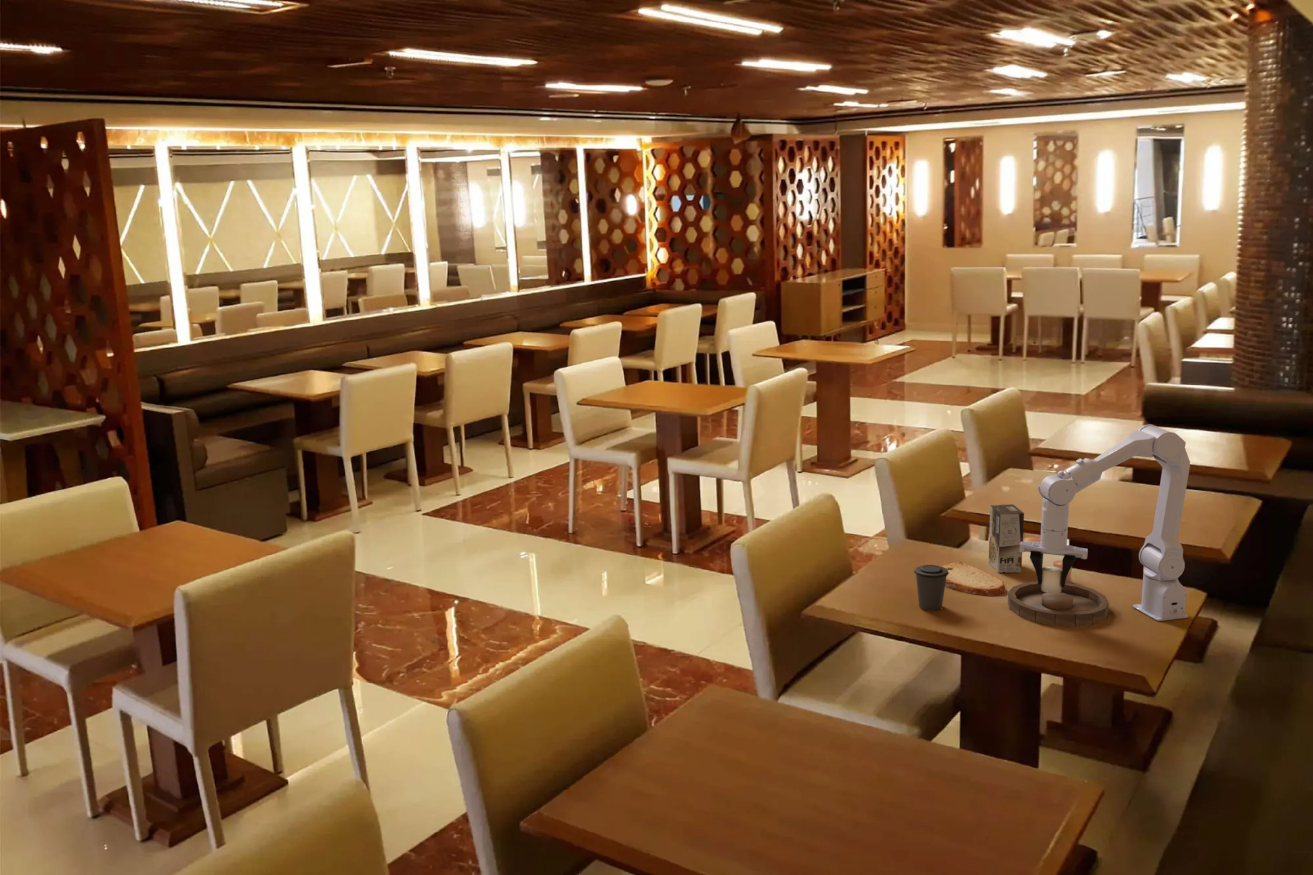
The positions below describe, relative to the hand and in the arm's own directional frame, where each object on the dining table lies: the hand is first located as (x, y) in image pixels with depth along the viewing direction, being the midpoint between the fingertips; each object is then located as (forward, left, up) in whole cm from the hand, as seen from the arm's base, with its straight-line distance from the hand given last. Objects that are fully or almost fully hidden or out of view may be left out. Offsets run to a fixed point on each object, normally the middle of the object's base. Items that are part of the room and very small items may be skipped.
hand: (1051, 584), depth 246 cm
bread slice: (+27, +7, -9) cm, 29 cm away
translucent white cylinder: (0, 0, -1) cm, 1 cm away
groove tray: (+5, -5, -8) cm, 10 cm away
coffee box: (+35, -8, -8) cm, 36 cm away
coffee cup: (+14, +23, -8) cm, 28 cm away
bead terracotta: (+21, -16, -8) cm, 27 cm away
